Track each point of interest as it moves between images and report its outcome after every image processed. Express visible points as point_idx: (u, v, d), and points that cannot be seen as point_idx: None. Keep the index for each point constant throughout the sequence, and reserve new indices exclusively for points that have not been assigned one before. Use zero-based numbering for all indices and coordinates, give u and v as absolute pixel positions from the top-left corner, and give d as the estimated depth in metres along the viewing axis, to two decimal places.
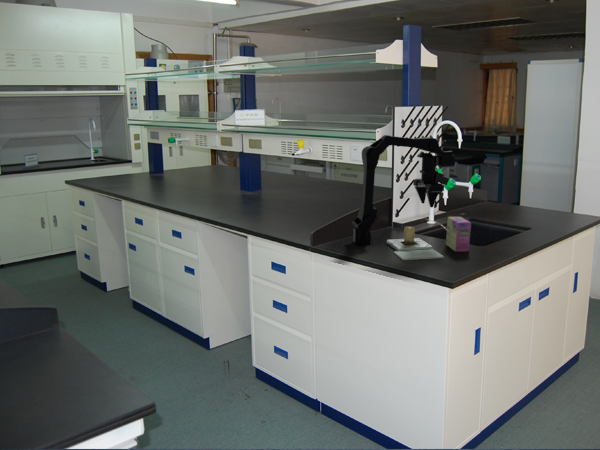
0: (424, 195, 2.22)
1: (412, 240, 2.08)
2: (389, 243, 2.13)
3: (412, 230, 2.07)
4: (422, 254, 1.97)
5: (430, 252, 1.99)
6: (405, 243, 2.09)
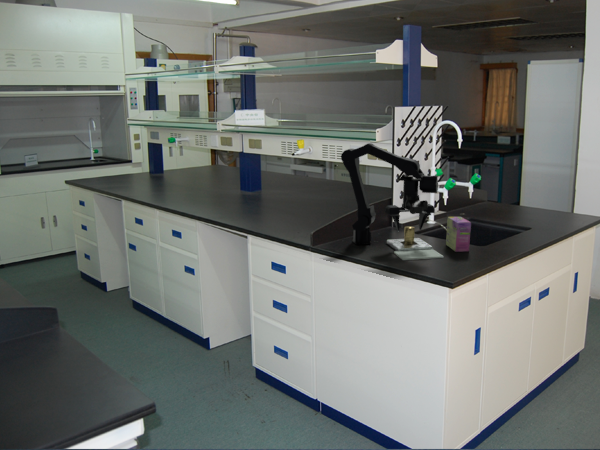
0: (421, 221, 2.08)
1: (412, 240, 2.08)
2: (389, 243, 2.13)
3: (412, 230, 2.07)
4: (422, 254, 1.97)
5: (430, 252, 1.99)
6: (405, 243, 2.09)
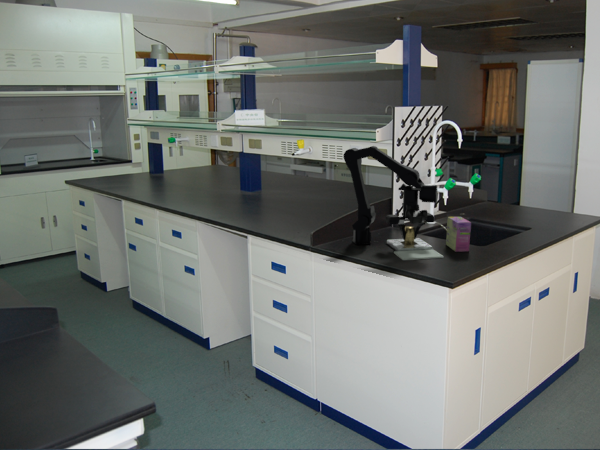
0: (415, 231, 2.09)
1: (412, 240, 2.08)
2: (389, 243, 2.13)
3: (412, 230, 2.07)
4: (422, 254, 1.97)
5: (430, 252, 1.99)
6: (405, 243, 2.09)
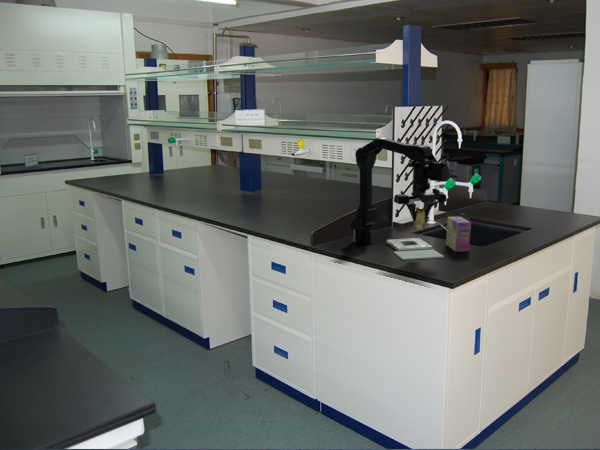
0: (426, 211, 1.95)
1: (423, 221, 1.94)
2: (389, 243, 2.13)
3: (423, 210, 1.93)
4: (422, 254, 1.97)
5: (430, 252, 1.99)
6: (415, 225, 1.95)
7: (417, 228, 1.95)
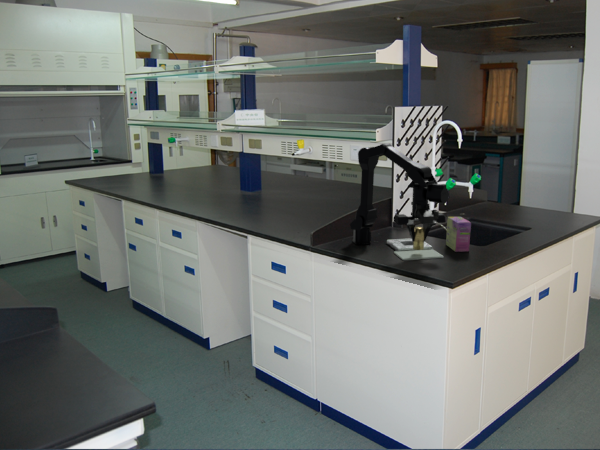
0: (425, 232, 1.96)
1: (422, 241, 1.95)
2: (389, 243, 2.13)
3: (422, 231, 1.94)
4: (422, 254, 1.97)
5: (430, 252, 1.99)
6: (414, 245, 1.96)
7: (416, 248, 1.96)
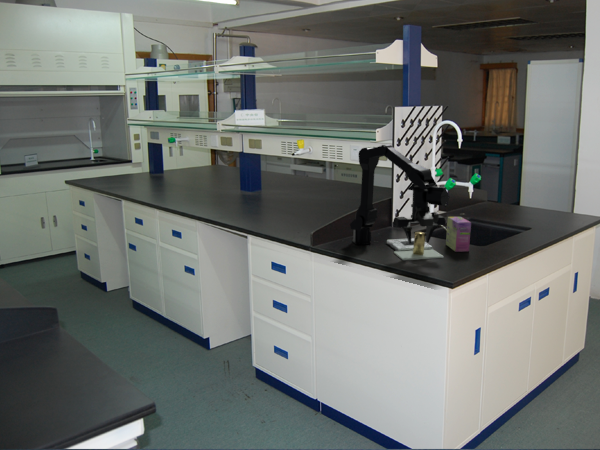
0: (428, 234, 1.96)
1: (422, 246, 1.96)
2: (389, 243, 2.13)
3: (423, 236, 1.95)
4: None
5: (430, 252, 1.99)
6: (414, 249, 1.97)
7: (416, 253, 1.96)
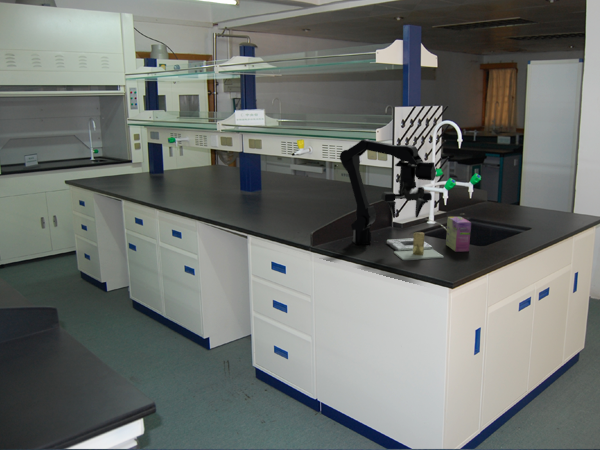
0: (417, 209, 2.04)
1: (422, 247, 1.96)
2: (389, 243, 2.13)
3: (422, 236, 1.95)
4: None
5: (430, 252, 1.99)
6: (414, 250, 1.97)
7: (416, 253, 1.96)
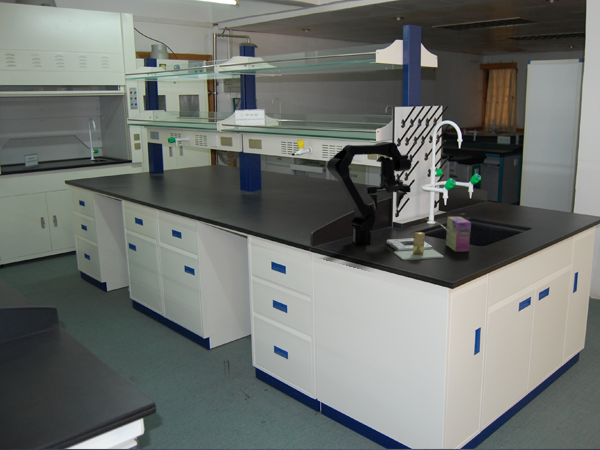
0: (397, 201, 2.20)
1: (422, 247, 1.96)
2: (389, 243, 2.13)
3: (422, 236, 1.95)
4: None
5: (430, 252, 1.99)
6: (414, 250, 1.97)
7: (416, 253, 1.96)
